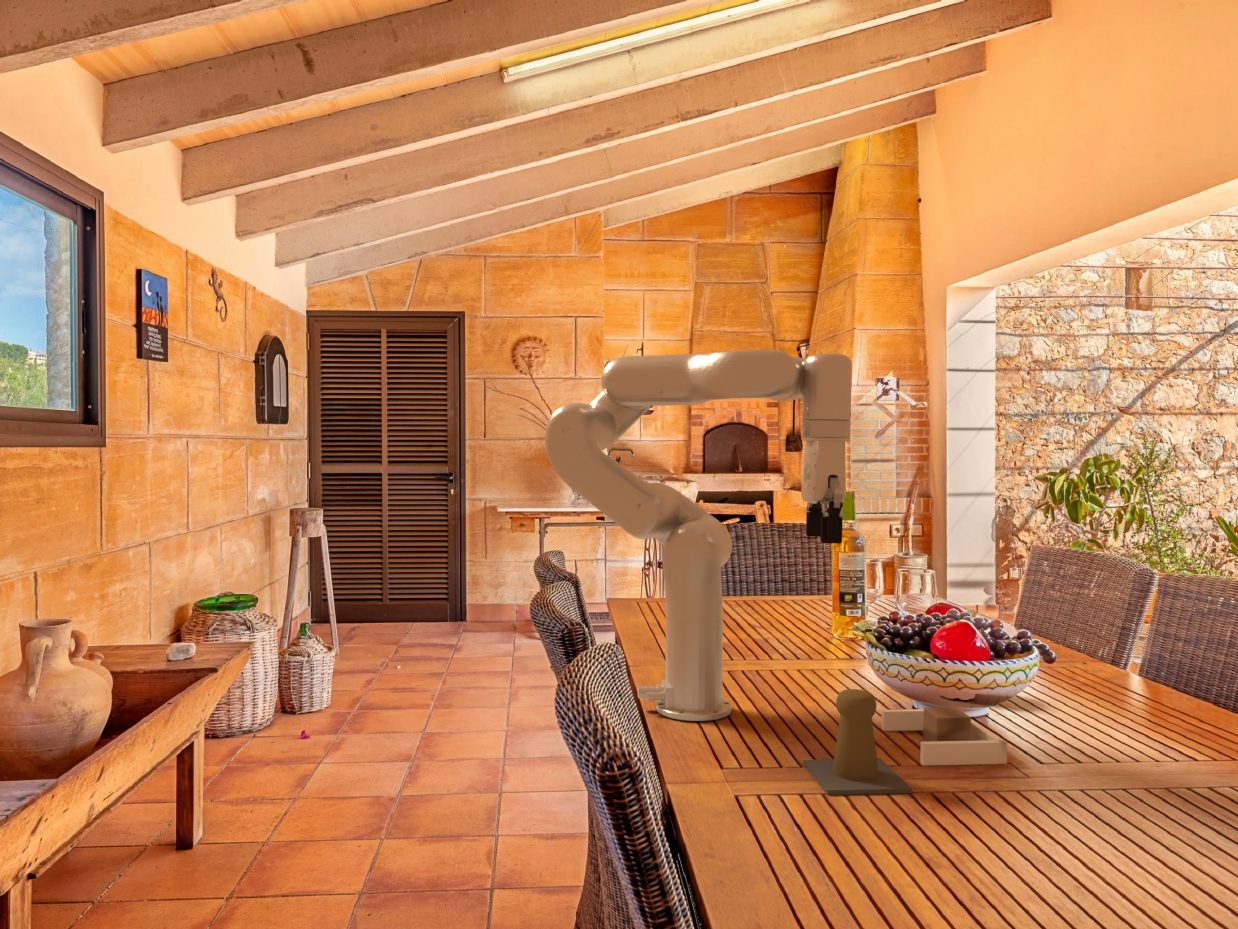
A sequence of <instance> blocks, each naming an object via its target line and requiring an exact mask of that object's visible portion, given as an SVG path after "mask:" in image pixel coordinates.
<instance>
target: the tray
mask: <svg viewBox="0 0 1238 929" xmlns="http://www.w3.org/2000/svg"><path fill="white" fill-rule="evenodd" d="M880 718H881V721H880V726H881V727H880V729H881V730H882V731H884V732H891V731H894V732H895V731H898V732H899V731H900V732H904V731H906V732H907V731H924V708H921V709H920V708H919V709H917V708H912V709H909V708H908V709H906V708H905V709H881V717H880ZM919 756H920V758H919V759H920V760H919V761H920V764H921V765H922V766H961V765H962V766H964V765H965V766H966V765H969V766H971V765H1007V764H1008V742H1007V741H1006V740H1004V739H1002V738H1001V737H1000V736H998V735H996V734H995V733H993V732H992V731H990V730H989V729H988V728H986V727H984V726H983V725H981V724H979V723H978V722H977V721H975V720H974V719H972V718H971V741H930V742H925V741H920V755H919Z"/></svg>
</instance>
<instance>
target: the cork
mask: <svg viewBox="0 0 1238 929" xmlns="http://www.w3.org/2000/svg"><path fill="white" fill-rule="evenodd" d="M835 706H836V709H837V712H838V713H839V716H840V717H839V722H838V729H837V737H836V744H835V749H834V750H835V751H834V756H833V757H834V758H833V759H834V763H833V770H832V772H833V773H834V774H835V775H836V776H838V777H840V778H843V779H846V780H851V781H872V780H875V779H877V778H878V777H879V770H878V762H877V758H878V755H877V746H876V739H875V732H874V722H873V716H874V715H875V713H876V710H877V700H876V697H875V696H874V694H872V693H871V692H869V691H868V690H864V689H856V688H853V689H852V688H848V689H844V690H842V691H840V692H839V693H838V695H837V696H836V699H835Z"/></svg>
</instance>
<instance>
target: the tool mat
mask: <svg viewBox="0 0 1238 929" xmlns="http://www.w3.org/2000/svg"><path fill="white" fill-rule="evenodd" d="M877 762H878V770H879V777H878V778H877V779H875V780H872V781H851V780H846V779H843V778H840V777H838V776H836V775H835V774H834V773H833V772H832V770H833V763H834V758H826V759H822V758H821V759H803V765H804V767H805V768H806V770H807V771H808V772H809V774H811V776H812V777H813V779H814V780H815V781H816V783H818V785H819V786H820V787H821V789H822V790H823V791H824V792H825V794H826V795H827V796H843V795H844V796H846V795H848V796H849V795H852V796H853V795H884V794H885V795H886V794H887V795H888V794H889V795H890V794H893V795H894V794H913V788H912V786H910V785H909V784H908V783H907V781H905V780H904V779H903V778H902V777H901V776H900V775H899V773H897V772H895V770H894V769H893V768H892V767H891V766H889V765H888V764H887V763H886V762H885V761H884V760H883V759H882V758H881V757H877Z"/></svg>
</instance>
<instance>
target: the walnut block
mask: <svg viewBox="0 0 1238 929" xmlns="http://www.w3.org/2000/svg"><path fill="white" fill-rule="evenodd" d="M923 709H924V730H922V731H923V734H922V735H923V736H922V738H923V739H922V740H923V742H930V741H971V719H972V718H971V716H970V715H969V714H966V713H965V712H964V711H962V710H961V709H959V708H958V707H956V706H955V707H952V706H951V707H947V706H946V707H923Z"/></svg>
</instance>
